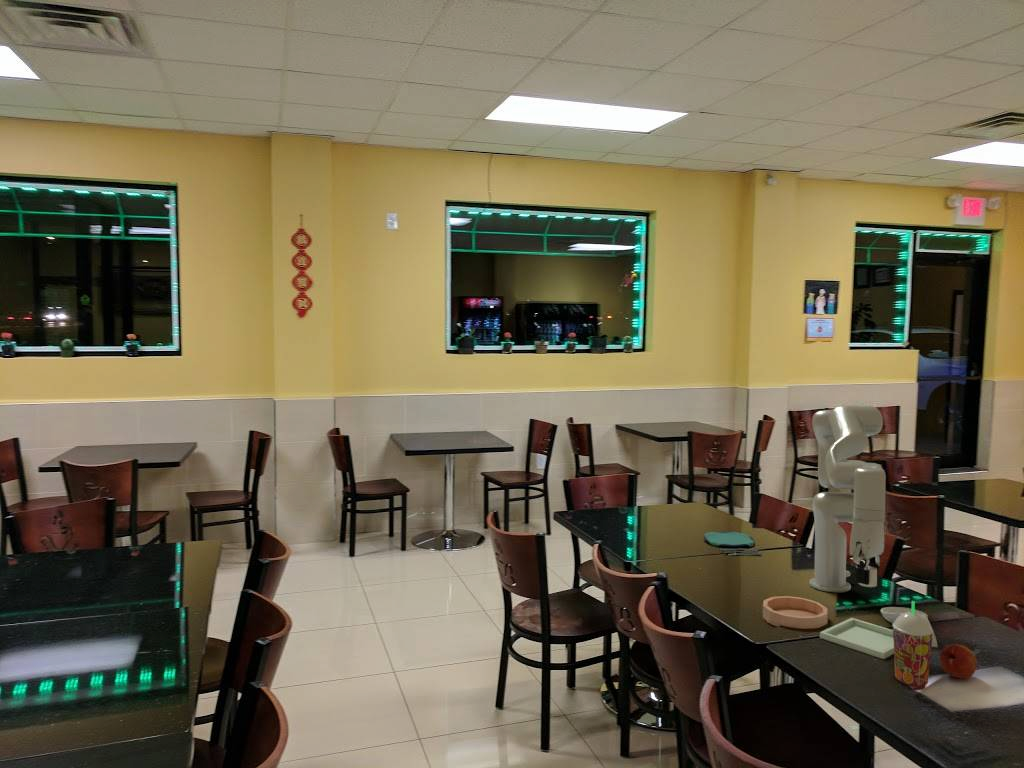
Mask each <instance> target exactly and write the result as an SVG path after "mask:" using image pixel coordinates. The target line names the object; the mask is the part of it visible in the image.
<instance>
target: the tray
mask: <svg viewBox="0 0 1024 768" xmlns="http://www.w3.org/2000/svg"><path fill="white" fill-rule="evenodd" d="M819 639H822V640H825V641H828V642H831V643H834V644H836V645H837V644H838V645H840V646H843V647H846V648H849V649H852V650H855V651H857V652H861V653H864V654H867V655H870V656H872V657H874V658H875V657H876V658H879V659H881V660H885V659H887V658H888V657H891V656H892V655H894V640H893V629H890V628H887V627H884V626H881V625H877V624H875V623H870V622H867V621H863V620H860V619H857V618H854V617H850V618H848V619H846V620H843V621H841V622H839V623H837V624H835V625H832V626H831V627H828V628H826V629H824V630H822V631H820V632H819Z"/></svg>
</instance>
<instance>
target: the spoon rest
mask: <svg viewBox="0 0 1024 768" xmlns="http://www.w3.org/2000/svg"><path fill="white" fill-rule="evenodd" d="M911 609H912V608H910V607H901V606H898V607H897V606H887V607H882V608H881V609H880V614H881V615H882V616H883V619H885V620H886V621H887V622H889V623H891V624H893V623H894V622H895V620H896V619H897V617H898V616H899V615H901V614H902V613H905V612H911ZM915 613H918V614H920V615H922V616H923V617H924V618H925V619H926V620H927V621H928V622H929V624H930V626H931V628H932V629H933V626H932V624H931V623H930V621H929V619H928V618H929V617H928V614H927V613H925V612H923V611H921V610H918V609H915ZM938 647H939V646H938V642H937V638H936V635H935V632H934V631H933V634H932V646H931V648H938Z"/></svg>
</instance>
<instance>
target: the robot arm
mask: <svg viewBox="0 0 1024 768" xmlns="http://www.w3.org/2000/svg"><path fill="white" fill-rule="evenodd" d="M882 415H883V414H882V413H881V410H879V409H878V408H877V407H875V406H872V405H840V406H837V407H835V408H833V409H824V410H819V411H816V412H815V413H814V414H813V416H812V419H811V420H812V423H811V424H812V431H813V433H814V434H813V435H814V436H815V439H816V443H817V447H818V448H817V450H818V452H817V453H818V454H817V455H818V457H817V458H818V459H817V462H818V463H817V475H818V476H817V479H818V483H819V485H820V486H821V487H823V488H826V489H833V490H853V492H841V491H838V492H837V491H823V492H819V493H816V494H815V495H814V496H813V498H812V510H813V517H814V519H813V520H814V577H812V578H810V579H809V580H808V581H809V585H810V586H811V587H812V588H814V589H817V590H819V591H823V592H829V593H846V592H849V591H851V589H852V585H851V584H850V582H848V581H847V578H848V577H850V576H851V572H850V571H849V570H847V534H846V532H845V530H844V529H843V528H842V527H841V526H840V525H839V523H852V524H851V530H850V531H851V532H850V541H849V555H850V556H852V561H853V562H854V564H855V568H856V576H855V577H856V579H855V580H856V581H855V582H856V583H858V584H859V583H862V584H865V585H868V584H869V573H870V570H868V566H871V567H875V568H877V582H878V581H879V578H880V564H881V560H880V559H881V557H882V554H883V553H884V550H885V526H884V522H885V521H886V520H885V519H886V480H887V479H886V477H887V475H886V471H885V469H883V467H882V466H881V465H880V464H878V463H875V462H867V461H863V460H855V459H854V460H853V459H850V458H852V457H855V456H857V455H860V454H861V453H863V452H864V451H865V450H866V449H867V448H868V444H869V440H868V437H872V436H876V435H879V433H880V432H881V431H882V430H883V429H882V428H883V425H884V420H883V416H882ZM863 560H864V561H863Z"/></svg>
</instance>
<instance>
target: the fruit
mask: <svg viewBox="0 0 1024 768" xmlns="http://www.w3.org/2000/svg"><path fill="white" fill-rule="evenodd" d="M939 660H940V665H941V666H940V667H941V668H942V670H943V671H944V672H945V673H946V674H948V675H950V676H951V677H954V678H957V679H963V680H964V679H967V678H970V677H972V676H973V675H974V674H975V672H976V670H977V666H978V660H977V658H976V655H975V654H974V652H973V650H972V649H970V648H969V647H967V646H965V645H963V644H959V643H953V644H949V645H947V646H945V647H944V648H943V649H942V650H941V651H940V652H939Z"/></svg>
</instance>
